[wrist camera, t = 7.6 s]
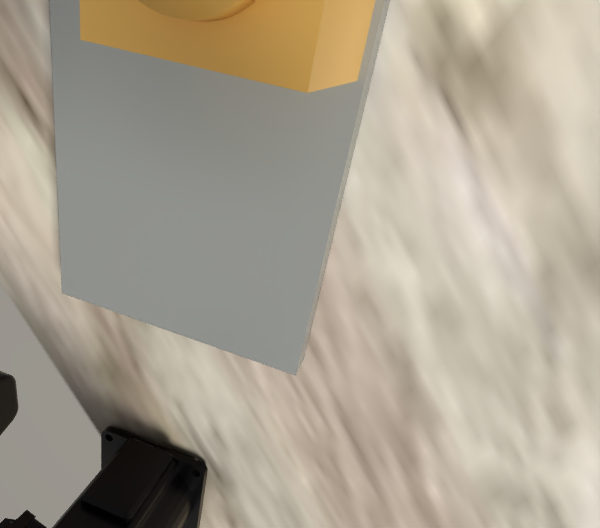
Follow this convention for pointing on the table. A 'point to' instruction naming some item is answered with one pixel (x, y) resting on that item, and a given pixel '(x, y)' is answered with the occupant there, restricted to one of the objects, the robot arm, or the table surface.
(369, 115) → the table surface
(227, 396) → the table surface
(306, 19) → the domed push button
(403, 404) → the table surface
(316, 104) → the plate
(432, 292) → the table surface
